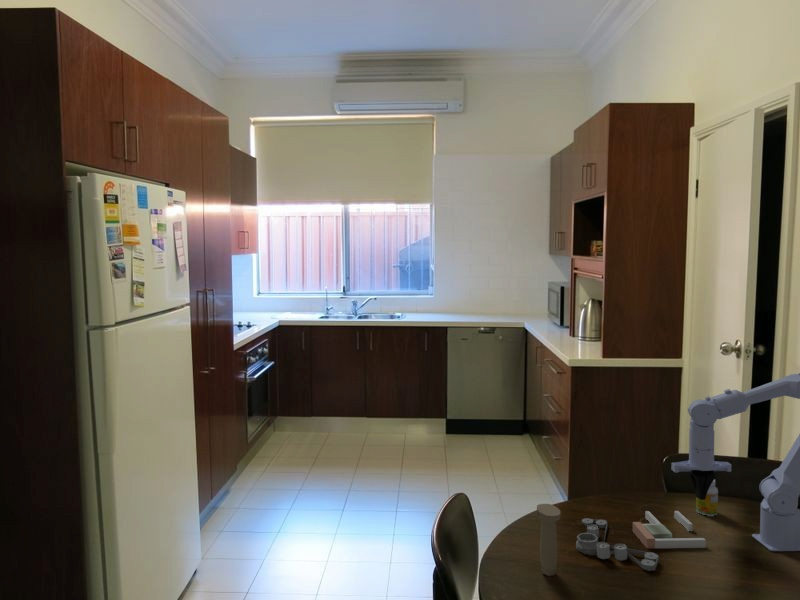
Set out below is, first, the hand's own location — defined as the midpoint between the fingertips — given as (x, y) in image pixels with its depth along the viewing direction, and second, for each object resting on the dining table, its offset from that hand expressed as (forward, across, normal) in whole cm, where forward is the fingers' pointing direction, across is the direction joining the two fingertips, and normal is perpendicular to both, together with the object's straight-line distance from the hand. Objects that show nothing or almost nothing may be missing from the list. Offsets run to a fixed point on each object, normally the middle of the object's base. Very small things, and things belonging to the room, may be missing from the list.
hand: (700, 498), depth 147 cm
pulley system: (+10, +27, +6) cm, 30 cm away
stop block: (+9, +16, +3) cm, 19 cm away
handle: (+10, +44, +18) cm, 48 cm away
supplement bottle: (+10, -8, -12) cm, 17 cm away
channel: (+9, +8, -1) cm, 13 cm away
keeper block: (+10, +12, +3) cm, 16 cm away
